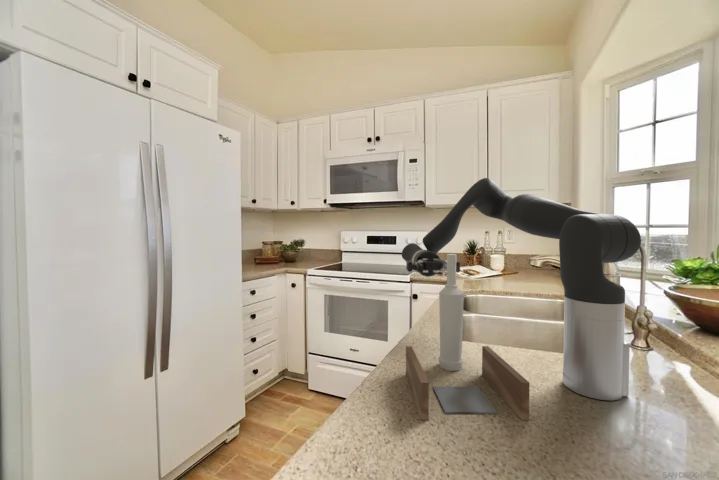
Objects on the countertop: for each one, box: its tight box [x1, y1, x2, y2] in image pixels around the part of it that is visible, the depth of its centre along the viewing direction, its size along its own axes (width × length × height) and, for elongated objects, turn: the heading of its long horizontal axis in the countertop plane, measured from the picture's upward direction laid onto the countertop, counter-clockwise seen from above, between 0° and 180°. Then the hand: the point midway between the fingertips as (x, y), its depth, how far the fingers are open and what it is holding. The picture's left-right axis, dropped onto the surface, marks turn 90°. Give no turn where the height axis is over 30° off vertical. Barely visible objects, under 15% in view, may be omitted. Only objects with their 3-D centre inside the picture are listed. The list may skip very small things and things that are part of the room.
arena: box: [405, 345, 530, 421], centre depth 58 cm, size 17×16×6 cm
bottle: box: [438, 253, 465, 372], centre depth 70 cm, size 5×5×25 cm
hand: (438, 269), depth 81 cm, fingers open, 8 cm apart
